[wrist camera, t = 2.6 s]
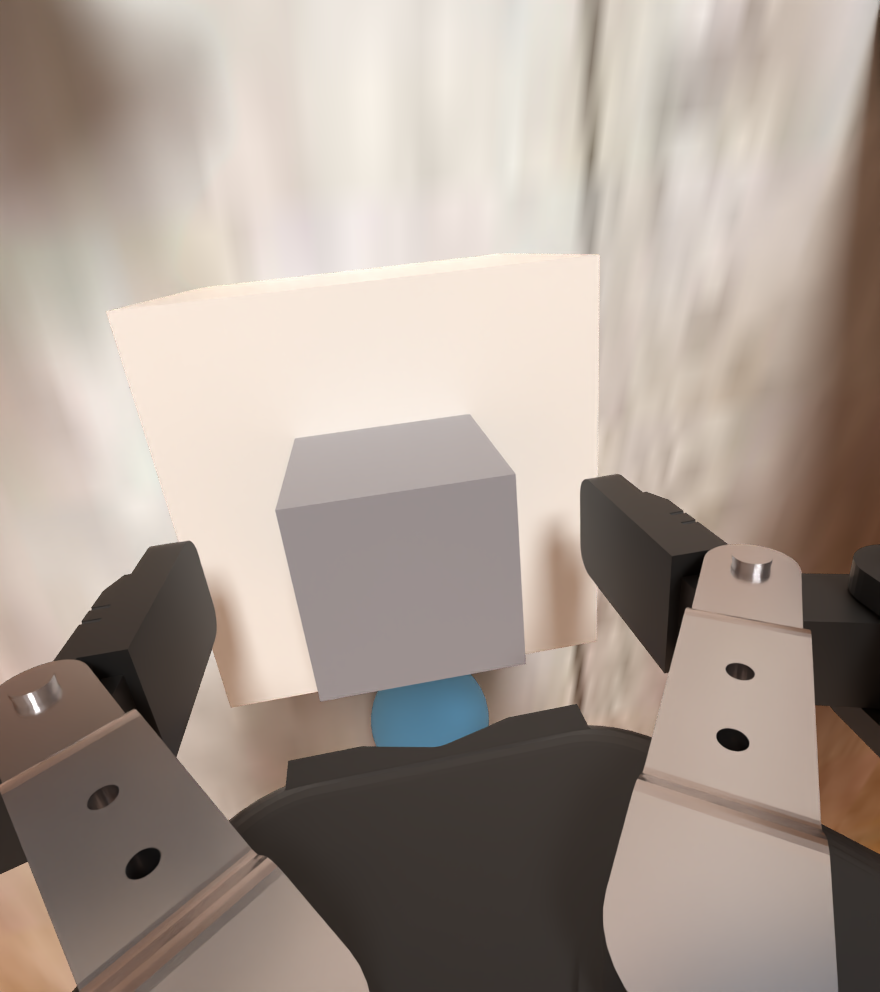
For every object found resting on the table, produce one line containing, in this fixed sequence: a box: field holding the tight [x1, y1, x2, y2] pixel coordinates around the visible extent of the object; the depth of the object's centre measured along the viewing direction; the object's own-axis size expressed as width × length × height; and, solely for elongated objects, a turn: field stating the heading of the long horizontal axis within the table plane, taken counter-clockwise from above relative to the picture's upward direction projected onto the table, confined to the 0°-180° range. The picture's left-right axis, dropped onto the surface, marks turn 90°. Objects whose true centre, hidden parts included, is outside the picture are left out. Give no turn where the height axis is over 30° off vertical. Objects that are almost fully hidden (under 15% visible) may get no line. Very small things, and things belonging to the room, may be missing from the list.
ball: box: [371, 674, 489, 747], centre depth 25 cm, size 5×5×5 cm
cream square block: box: [106, 254, 599, 707], centre depth 16 cm, size 10×10×13 cm
